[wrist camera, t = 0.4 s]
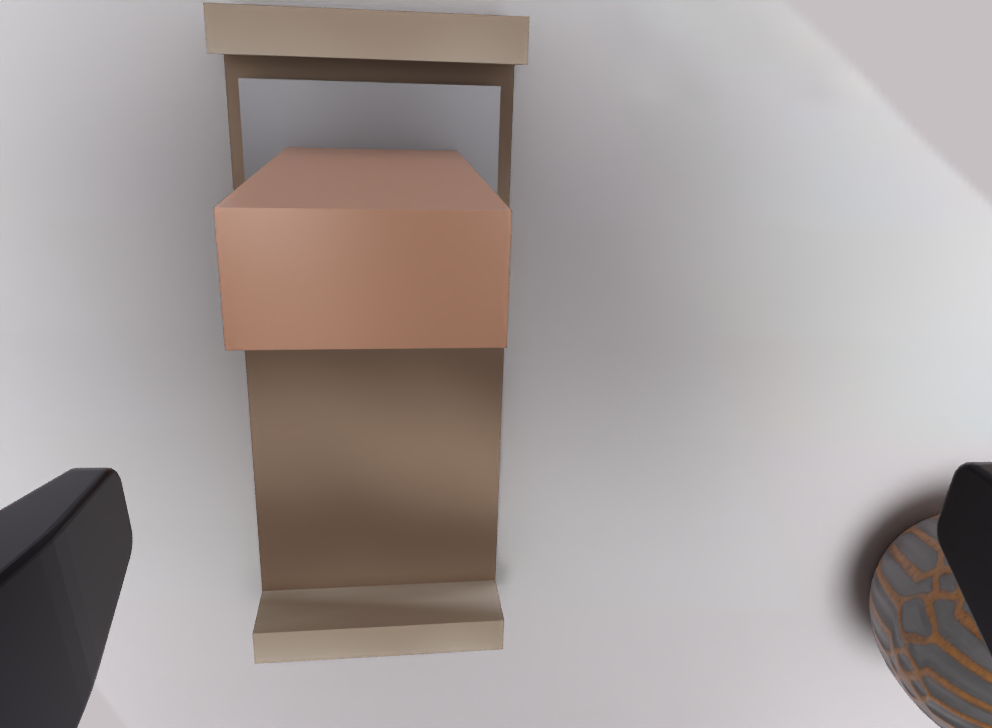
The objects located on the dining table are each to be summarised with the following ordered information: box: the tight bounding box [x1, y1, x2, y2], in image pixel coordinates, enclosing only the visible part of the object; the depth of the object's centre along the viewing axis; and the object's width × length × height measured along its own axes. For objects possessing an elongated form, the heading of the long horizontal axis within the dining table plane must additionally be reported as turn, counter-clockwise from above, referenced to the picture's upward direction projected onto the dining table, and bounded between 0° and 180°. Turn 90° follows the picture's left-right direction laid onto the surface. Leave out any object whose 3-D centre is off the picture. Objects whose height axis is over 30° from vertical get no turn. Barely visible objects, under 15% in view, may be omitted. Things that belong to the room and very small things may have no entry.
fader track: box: [203, 3, 529, 664], centre depth 22 cm, size 17×7×3 cm, turn 178°
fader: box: [214, 78, 512, 350], centre depth 16 cm, size 5×6×10 cm
